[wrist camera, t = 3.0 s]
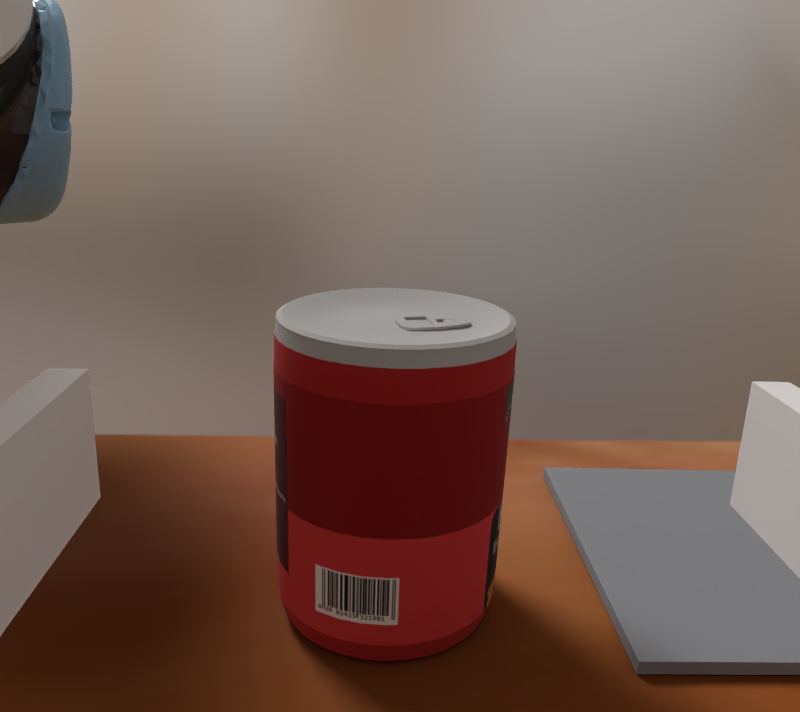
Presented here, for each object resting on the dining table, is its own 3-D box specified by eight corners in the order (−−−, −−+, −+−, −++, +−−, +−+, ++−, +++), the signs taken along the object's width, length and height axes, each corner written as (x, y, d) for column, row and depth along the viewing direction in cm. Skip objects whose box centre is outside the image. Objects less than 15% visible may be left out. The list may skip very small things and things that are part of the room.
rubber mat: (636, 674, 25) (638, 661, 24) (543, 476, 38) (544, 467, 38) (1101, 676, 25) (1106, 664, 25) (850, 481, 39) (852, 473, 38)
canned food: (534, 629, 27) (567, 332, 23) (324, 700, 23) (327, 360, 20) (428, 525, 33) (442, 280, 30) (251, 567, 29) (244, 295, 26)
